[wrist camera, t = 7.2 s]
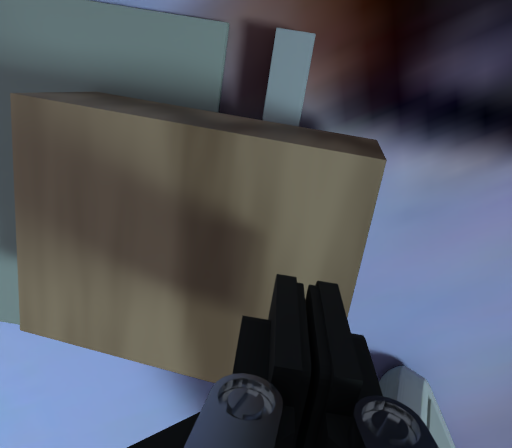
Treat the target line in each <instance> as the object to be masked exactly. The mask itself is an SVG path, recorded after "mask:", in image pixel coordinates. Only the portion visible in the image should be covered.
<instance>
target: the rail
mask: <svg viewBox="0 0 512 448" xmlns="http://www.w3.org/2000/svg"><path fill="white" fill-rule="evenodd" d="M315 35H316V34H313V33H307V32H300V31H294V30H288V29H282V28H276V35H275V41H274V48H273V54H272V61H271V67H270V74H269V80H268V87H267V93H266V100H265V106H264V113H263V119H262V120H263V121H269V122H275V123H281V124H287V125H292V126H298V127H299V123H300V117H301V112H302V106H303V101H304V95H305V90H306V84H307V79H308V73H309V68H310V62H311V57H312V51H313V46H314V40H315Z"/></svg>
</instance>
